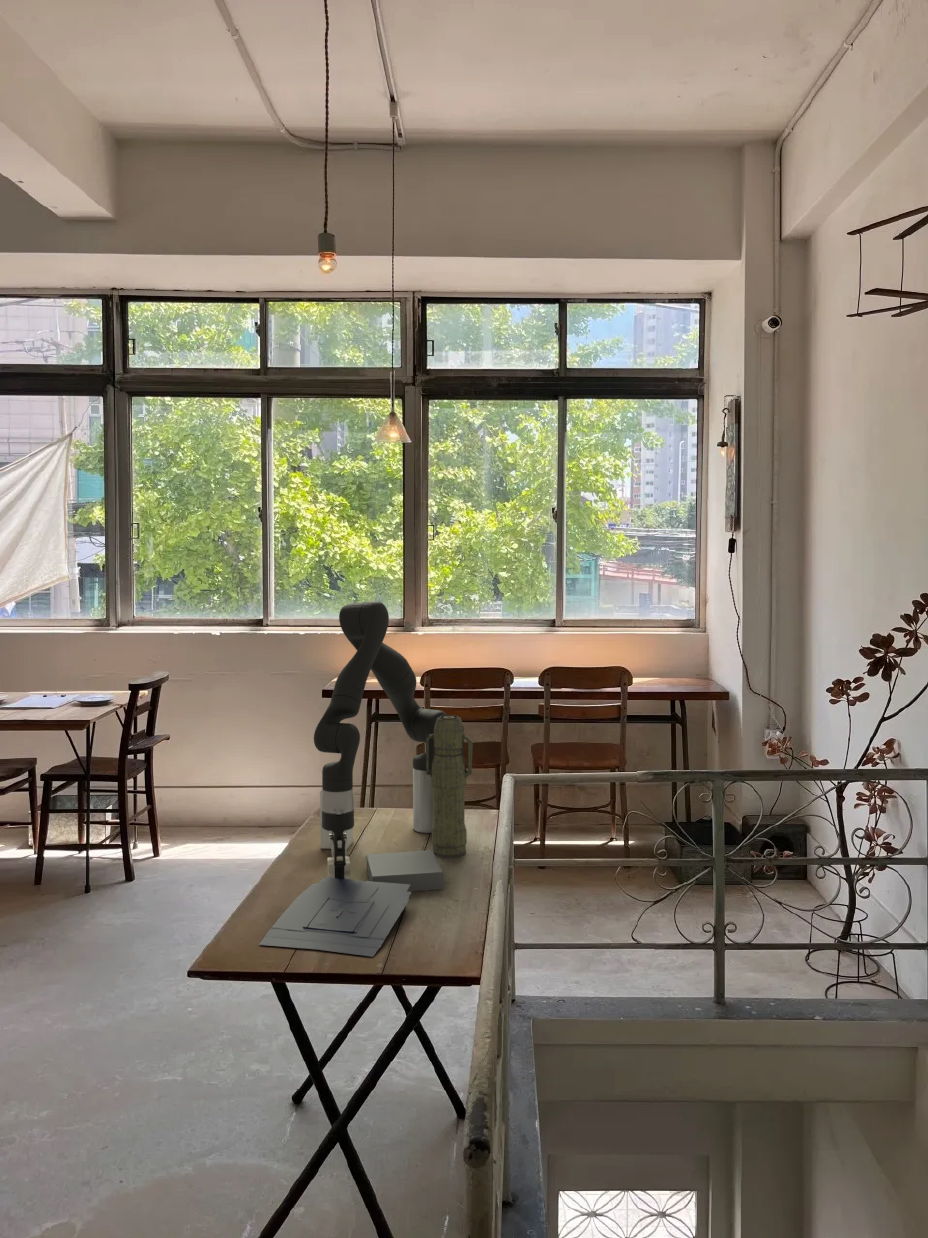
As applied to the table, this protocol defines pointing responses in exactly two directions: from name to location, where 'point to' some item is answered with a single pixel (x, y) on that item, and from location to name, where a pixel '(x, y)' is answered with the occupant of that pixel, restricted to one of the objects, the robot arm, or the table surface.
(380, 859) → the charcoal plinth
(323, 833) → the milk carton
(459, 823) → the thermos
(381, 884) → the papers
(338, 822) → the robot arm
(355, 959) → the table surface
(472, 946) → the table surface
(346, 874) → the cream cube
